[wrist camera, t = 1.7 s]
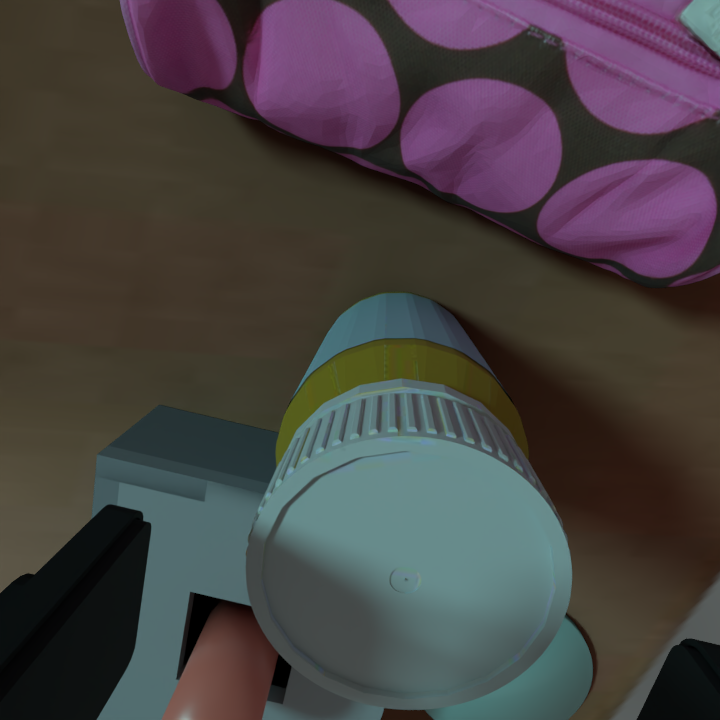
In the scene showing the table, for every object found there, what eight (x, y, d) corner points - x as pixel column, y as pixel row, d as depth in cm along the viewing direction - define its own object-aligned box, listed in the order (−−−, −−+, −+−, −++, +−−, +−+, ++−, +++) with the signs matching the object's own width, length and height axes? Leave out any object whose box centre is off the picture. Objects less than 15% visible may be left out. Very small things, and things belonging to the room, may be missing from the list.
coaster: (436, 573, 27) (437, 581, 26) (615, 615, 27) (620, 624, 26) (391, 710, 29) (391, 720, 29) (554, 748, 30) (557, 758, 29)
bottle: (500, 345, 23) (683, 554, 9) (411, 455, 25) (441, 778, 10) (378, 258, 22) (358, 329, 8) (295, 378, 24) (156, 613, 10)
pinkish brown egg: (215, 583, 23) (157, 706, 17) (291, 601, 23) (258, 729, 17) (204, 644, 24) (145, 779, 18) (277, 661, 24) (242, 801, 18)
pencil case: (739, 50, 20) (1078, -115, 10) (623, 283, 22) (801, 331, 13) (223, -148, 19) (47, -535, 9) (167, 118, 21) (-14, 35, 12)
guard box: (159, 404, 25) (97, 454, 20) (429, 468, 25) (439, 534, 20) (129, 649, 29) (72, 743, 24) (358, 702, 29) (352, 808, 24)
